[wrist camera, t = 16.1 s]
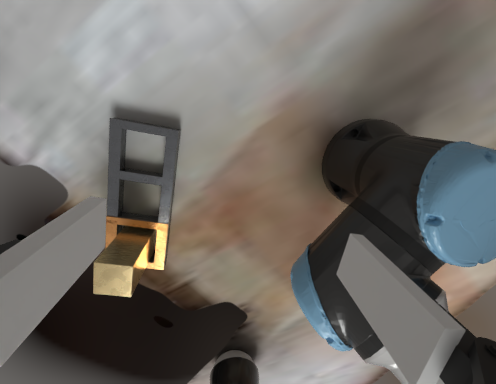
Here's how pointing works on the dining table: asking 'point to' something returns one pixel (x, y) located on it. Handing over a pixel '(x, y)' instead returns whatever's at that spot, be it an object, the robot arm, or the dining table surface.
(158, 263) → the rail
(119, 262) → the brass peg
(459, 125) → the dining table surface
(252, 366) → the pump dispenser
